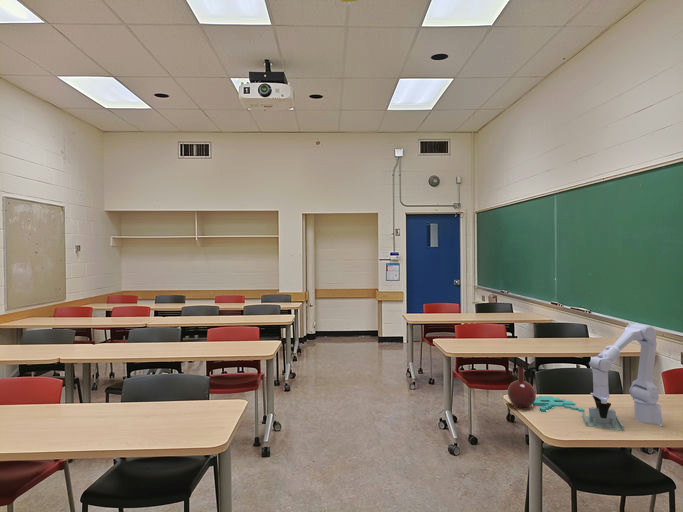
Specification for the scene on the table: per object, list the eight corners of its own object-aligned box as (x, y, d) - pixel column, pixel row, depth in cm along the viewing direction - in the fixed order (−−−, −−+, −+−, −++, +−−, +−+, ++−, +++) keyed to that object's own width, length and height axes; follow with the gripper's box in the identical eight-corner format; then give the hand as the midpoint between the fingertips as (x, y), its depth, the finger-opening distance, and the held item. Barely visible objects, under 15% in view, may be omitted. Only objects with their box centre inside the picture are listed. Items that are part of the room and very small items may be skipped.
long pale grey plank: (615, 423, 173) (615, 410, 174) (616, 425, 172) (615, 411, 172) (589, 420, 178) (588, 407, 178) (589, 421, 176) (589, 408, 177)
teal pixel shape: (584, 414, 189) (565, 400, 209) (584, 409, 189) (565, 396, 209) (541, 413, 191) (526, 400, 211) (541, 408, 191) (526, 395, 211)
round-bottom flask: (515, 412, 192) (514, 370, 193) (503, 402, 205) (502, 364, 206) (541, 411, 193) (540, 370, 194) (527, 402, 206) (526, 364, 207)
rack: (618, 422, 178) (617, 413, 178) (624, 433, 166) (624, 423, 166) (582, 417, 184) (581, 409, 184) (586, 427, 172) (585, 418, 172)
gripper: (588, 379, 184) (589, 408, 183) (592, 387, 171) (593, 419, 170) (605, 380, 181) (607, 410, 180) (612, 389, 168) (613, 421, 167)
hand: (601, 415), depth 175 cm, fingers open, 7 cm apart
